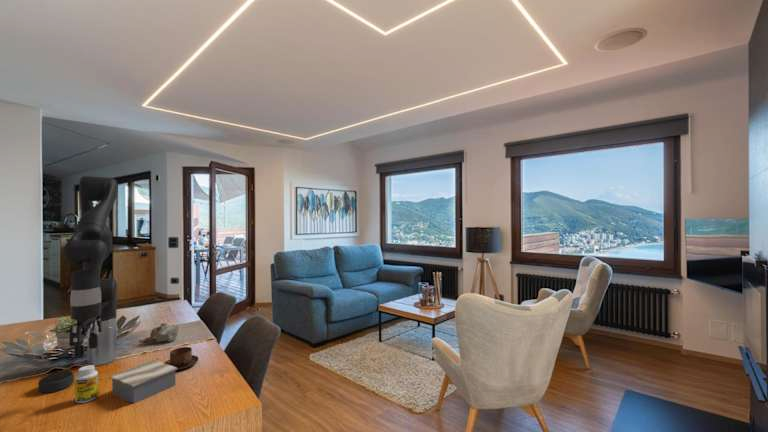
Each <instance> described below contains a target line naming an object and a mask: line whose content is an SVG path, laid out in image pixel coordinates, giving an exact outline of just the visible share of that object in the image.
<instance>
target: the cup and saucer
mask: <svg viewBox="0 0 768 432" xmlns="http://www.w3.org/2000/svg"><path fill="white" fill-rule="evenodd" d="M192 351H193V349H192V347H189V346H184V347H183V346H182V347H178V348H174V349H173V350H170V351H169V359H168V360H165V361H164V363H165V364H168V365H171V366H174V367H177V368H178V369H177V370H176V371H180V370H185V369H187V368H190V367H192V366H194V365H196V363H198V361H199V357H198V356H197V355H192V354H193V353H192Z"/></svg>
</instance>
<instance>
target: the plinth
mask: <svg viewBox="0 0 768 432" xmlns="http://www.w3.org/2000/svg"><path fill="white" fill-rule="evenodd" d="M177 369H178V368H177V367H174V366H171V365H168V364H165V362H161V361H158V360H155V359H154V360H153V359H152V360H151V361H148V362H145V363H142V364H140V365H137V366H135V367H132V368H129V369H126V370H123V371H120V372H117V373H115V374H112V375H109V379H112V382H111V383H112V384H111V385H112V387H111V388H112V395H115V396H117V397H119V398H120V399H123V400H124V401H128V402H130V403H132V404H136V403H138V402H140V401H143V400H145V399H147V398H150V397H152V396H154V395H157V394H159V393H161V392H163V391H165V390H167V389H170V388H172V387H175V386H176V371H178V370H177Z"/></svg>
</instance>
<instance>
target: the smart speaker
mask: <svg viewBox="0 0 768 432" xmlns="http://www.w3.org/2000/svg"><path fill="white" fill-rule="evenodd" d="M74 383H75V374H74V372H72V371H68V370H67V371H59V372H53V373H51V374H48V375H46V376H44V377H42V378H41V379H40V380H39V381H38V385H37V387H38V388H37V389H38V391H39V393H42V394H50V393H54V392H55V393H56V392H59V391H62V390H65V389H67V388H69V387H70V386H72V385H73V384H74Z"/></svg>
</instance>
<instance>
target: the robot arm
mask: <svg viewBox="0 0 768 432" xmlns="http://www.w3.org/2000/svg"><path fill="white" fill-rule="evenodd" d="M79 179H80V180H79V184H78V192H79V193H78V194H79V195H78V196H79V202H80V203H79V204H80V211H81V217H80V219H79V222H78V225H77V228H76V231H75V232H74V233H73V234H72V236H71V237H70V238H69V239H68V241H67V242H66V244H65V245H64V246H63V249H62V256H63V258H64V260H65V261H66V262H68V263H71V264H72V263H73V264H75V263H82V269H79V270H75V271H73V272H72V273H71V276H70V278H71V279H70V280H71V282H70V283H71V289H70V290H71V291H70V299H69V301H70V302H69V303H70V305H69V306H70V319H71V320H74V321H76V324H75V325H72V326H70V327H69V340H68V341H69V343H68V344H69V345H68V346H69V347H73V348H74V350H73V351H74V359H82V358H84V357H85V343H86V342H87V343H86V344H87V366H88V365H94V366H102V365H106V364H109V363H112V362H114V361H116V360H117V356H118V354H117V353H118V351H117V350H118V348H117V347H118V346H117V345H118V343H117V342H118V340H117V339H118V337H117V335H118V334H117V333H118V331H117V329H118V328H117V296H118V295H117V292H118V286H117V285H118V284H117V281H116V279H115V278H102V279H101V272H102V271H101V270H102V266H103V263H104V262H105V260H106V259H107V258H108V257H109V255H110V254H111V252H112V250H113V233H112V231H111V229H110V228H109V226H108V225H107V224H106V223H107V220H108V217H109V216H110V213H111V211H112V209H113V206H114V204H115V202H116V199H117V197H118V193H119V191H118V189H119V188H118V182H117V180H116V179H114V178H112V177H106V176H105V177H104V176H93V175H92V176H90V175H88V176H87V175H84V176H81V177H80V178H79ZM93 202H99V203H97V204H95V205H93V204H94V203H93ZM102 303H105V304H104V305H103V306H102Z"/></svg>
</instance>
